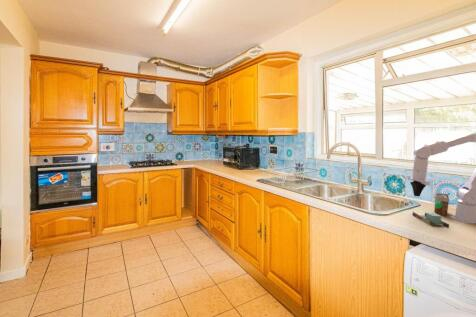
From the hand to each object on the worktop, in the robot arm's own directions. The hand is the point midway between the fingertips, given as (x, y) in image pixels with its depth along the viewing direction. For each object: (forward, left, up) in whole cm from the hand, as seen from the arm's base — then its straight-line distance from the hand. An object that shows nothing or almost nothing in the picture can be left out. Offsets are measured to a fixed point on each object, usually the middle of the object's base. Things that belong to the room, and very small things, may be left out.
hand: (416, 196), depth 128 cm
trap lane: (0, +11, -9) cm, 15 cm away
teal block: (0, +14, -9) cm, 16 cm away
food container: (-14, -3, -10) cm, 17 cm away
